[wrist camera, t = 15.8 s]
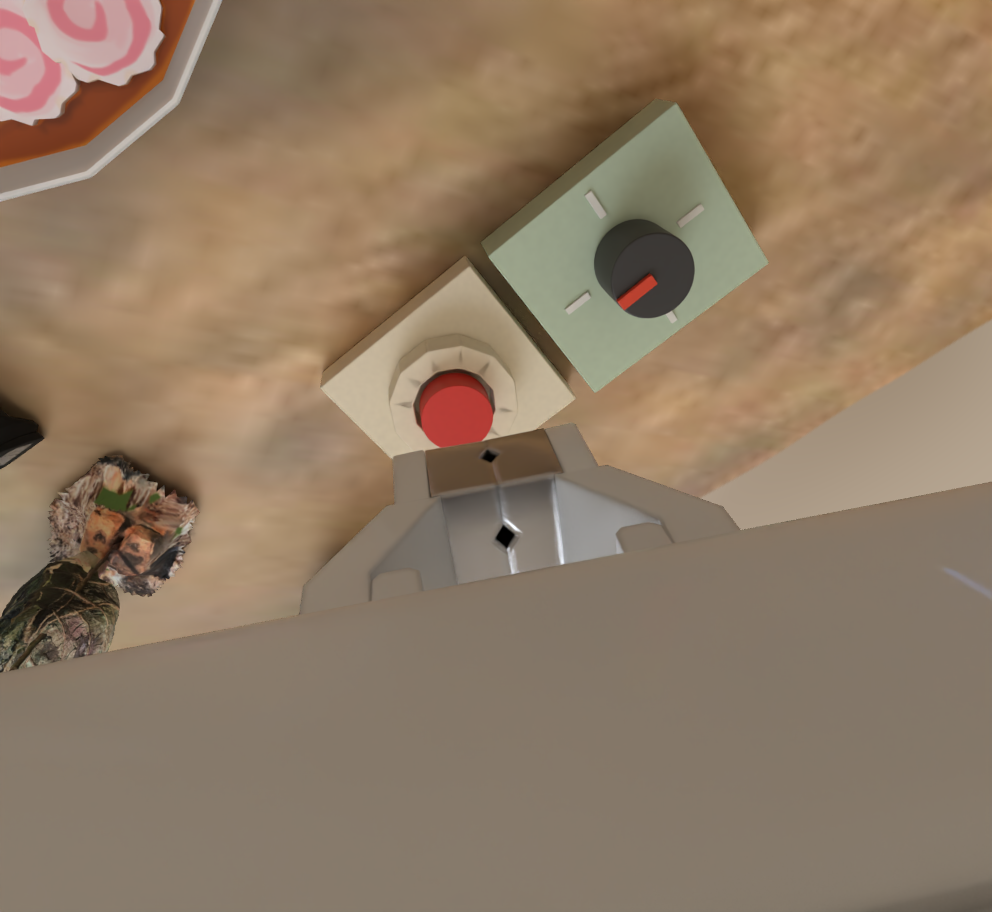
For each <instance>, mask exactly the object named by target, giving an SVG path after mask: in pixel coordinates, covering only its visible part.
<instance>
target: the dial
mask: <svg viewBox="0 0 992 912" xmlns="http://www.w3.org/2000/svg"><path fill="white" fill-rule="evenodd" d="M594 270H595V275H596V278H597V280H598V283H599V284H600V286H601V287H602V288H603V289H604V290H605V292H606V293H607V294H608V295H609V296H610V297H611V298H612V299H613V300H614V301H615V302H616V303H617V304H618V305H619V306H620V307H621V308H622V309H623V310H624V311H625V312H627V313H628V314H630V315H632V316H635V317H638V318H656V317H660V316H663V315H665V314H667V313H669V312H671V311H672V310H674V309H675V308H676V307H677V306H679V305H680V304H681V303H682V301H683V300H684V299H685V298H686V296H687V295H688V293H689V291H690V289H691V287H692V284H693V280H694V275H695V265H694V259H693V256H692V253H691V251H690V250H689V248H688V247H687V245H686V244H685V243H684V242H683V241H682V240H681V239H679V238H678V237H676V236H675V235H673V234H671V233H670V232H668V231H667V230H665V229H663V228H662V227H660V226H659V225H657V224H655V223H653V222H651V221H648V220H644V219H632V220H628V221H624V222H622V223H620V224H618V225H616V226H615V227H613V228H612V229H611V230H610V231H609V232H607V233H606V235H605V236H604V237H603V238H602V240H601V242H600V243H599V245H598V247H597V250H596V254H595V258H594Z"/></svg>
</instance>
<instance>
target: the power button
mask: <svg viewBox="0 0 992 912" xmlns="http://www.w3.org/2000/svg"><path fill="white" fill-rule="evenodd" d="M419 408H420V416H421V424H422V428H423V431H424V433H425V435H426V436H427V438H428V439H429V440H430V441H431V442H432V443H434V444H435V445H436V446H438V447H440V448H442V447H448V446H454V445H460V444H466V443H472V442H478V441H482V440H483V439H484V438H485V437H486V436H487V434H488V433H489V431H490V429H491V426H492V422H493V411H492V407H491V404H490V401H489V398H488V395H487V392H486V390H485V388H484V387H483V385H482V384H481V383H480V382H479V381H478V380H477V379H475V378H474V377H472V376H470V375H467V374H463V373H447V374H444V375H441V376H439V377H437V378H435V379H434V380H432V381H431V382H430V383H429V384H428V385H427V386H426V387H425V389H424V390H423V392H422V395H421V398H420V403H419Z"/></svg>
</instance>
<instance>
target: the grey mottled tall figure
mask: <svg viewBox="0 0 992 912" xmlns="http://www.w3.org/2000/svg"><path fill="white" fill-rule="evenodd" d="M99 459H100V460H101V461H99V462H97V465H94V467H91V471H88V472H87V474H86V475H85V476H82V477H81V478H80V480H79V481H77V482H75V483H74V484H73V485H72V486H71V487H70V488H66V490H67V491H68V492H69V493H61V492H57V493H58V494H59V495H60V496H61V498H62V499H63V500H64V501H62V500H59V499H55V500H54V501H53V502H52V503H51V505H50V508H52V509H53V510H54V511H48V512H49V514H50V515H52V516H50V517H48V519H49V520H50V524H52V525H53V526H50V527H54V529H53V530H52V531H51V534H52V537H51V538H49V539H48V540H47V541H52V542H51V543H50V544H49V545H50V546H51V547H50V548H48V549H53V550H52V551H51V552H50V554H53V555H52V556H50V557H54V558H53V559H52V560H51V561H50V562H54V561H55V562H54V563H49V564H47V566H46V567H45V568H43V569H42V570H41V571H40V572H39V573H38V574H37V575H35V576H34V577H32V578H31V579H30V580H29V581H28V582H27V583H26V584H24V585H23V586H22V587H21V588H20V589H19V590H18V591H17V593H15V595H14V596H13V597H12V599H11V601H10V602H9V603H8V604H7V605H6V608H5V609H4V611H3V613H2V617H0V673H1V672H6V671H11V670H17V669H22V668H27V667H32V666H37V665H42V664H48V663H53V662H58V661H63V660H68V659H74V658H79V657H84V656H89V655H94V654H99V653H105V652H108V650H109V647H110V645H111V642H112V639H113V638H112V637H113V636H114V631H115V625H116V621H117V619H118V616H119V609H120V603H119V598H118V594H117V591H116V589H115V588H114V586H116V585H118V587H120V588H123V591H124V593H126V592H130V593H131V595H136V594H138V595H140V596H143V597H144V596H145V595H146V594H147V595H148V597H149V596H152V594H153V593H155V591H154V590H158V589H157V588H161V587H160V586H159V585H162V584H164V583H163V581H166V578H167V579H169V578H170V577H172V576H175V574H174V571H177V570H178V569H179V568H182V566H181V565H180V564H182V563H183V562H182V561H180V560H182V559H183V558H182V556H181V555H182V554H184V553H185V552H184V551H183V550H182V549H181V548H182V547H184V546H185V545H187V544H189V543H191V542H192V541H191V539H190V536H189V534H188V532H187V531H189V530H190V529H192V528H193V527H192V525H191V524H190V523H189V522H195V516H196V515H197V514H199V513H200V512H199V510H198V509H197V507H196V506H195V504H194V502H193V500H192V501H191V502H190V503H189V504H188V505H187V497H177V495H176V492H175V490H174V491H172V492H171V493H170V494H169V495H168V496H167V497H166V498H165V488H164V486H163V487H161V488H160V489H159V490H158V491H157V492H156V489H157V484H158V483H156V482H151V481H147V479H148V477H149V475H150V474H141V473H140V471H139V470H138V471H135V472H133V467H131V468H129V466H130V464H131V462H125V461H124V459H123V456H110V457H106V456H105V458H99ZM128 468H129V469H128ZM55 556H56V557H55ZM106 581H107V582H106ZM111 582H113V585H112V584H110V583H111Z"/></svg>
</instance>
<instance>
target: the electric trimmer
mask: <svg viewBox="0 0 992 912" xmlns="http://www.w3.org/2000/svg"><path fill="white" fill-rule="evenodd" d="M37 428H38V425H37V424H36V423H35V422H34V421H31V420H26V419H20V418H14V417H11V416H8V415H7V414H6V413H5V412H4V411H3V410H2V409H0V469H1V468H3V467H5V466H7V465H8V464H10V463H11V462H12V461H14V460H15V459H17V458H18V457H19V456H21V455H22V454H24V453H25V452H26V451H28V450H29V449H31V448H32V447H33V446H35V445H36V444H38V443H39V442H40V441H42V440H43V439H44V437H43V436H42V435H41V434H40V433H38V432H37Z"/></svg>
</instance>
